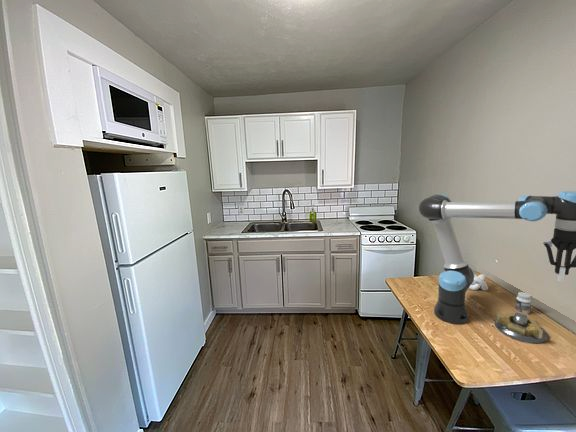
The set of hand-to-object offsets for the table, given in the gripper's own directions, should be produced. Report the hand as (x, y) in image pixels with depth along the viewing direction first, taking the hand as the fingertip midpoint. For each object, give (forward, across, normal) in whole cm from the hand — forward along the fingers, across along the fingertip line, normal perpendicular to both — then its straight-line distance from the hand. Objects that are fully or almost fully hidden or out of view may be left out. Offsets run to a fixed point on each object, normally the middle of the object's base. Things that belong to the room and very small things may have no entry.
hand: (560, 280), depth 105 cm
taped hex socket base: (+25, +11, +3) cm, 27 cm away
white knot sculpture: (+27, +29, -31) cm, 50 cm away
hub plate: (+26, +12, +4) cm, 29 cm away
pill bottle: (+27, +9, -15) cm, 32 cm away
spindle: (+26, +12, +4) cm, 29 cm away
